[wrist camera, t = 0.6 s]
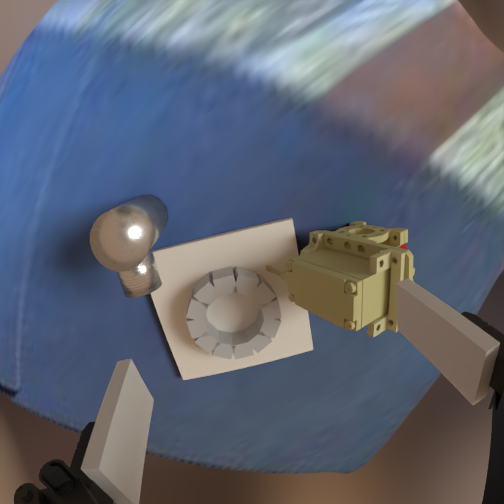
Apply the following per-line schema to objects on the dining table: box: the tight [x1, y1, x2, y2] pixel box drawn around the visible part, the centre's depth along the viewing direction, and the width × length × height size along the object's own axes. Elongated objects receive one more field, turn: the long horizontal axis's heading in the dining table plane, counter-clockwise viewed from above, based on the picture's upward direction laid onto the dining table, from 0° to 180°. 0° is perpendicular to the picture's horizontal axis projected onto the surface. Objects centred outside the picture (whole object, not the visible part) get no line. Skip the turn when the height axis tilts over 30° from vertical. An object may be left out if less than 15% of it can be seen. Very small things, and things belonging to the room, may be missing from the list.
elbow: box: [90, 195, 168, 298], centre depth 30 cm, size 8×5×12 cm, turn 12°
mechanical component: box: [266, 221, 415, 337], centre depth 34 cm, size 8×17×20 cm, turn 96°
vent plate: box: [151, 218, 313, 380], centre depth 37 cm, size 18×18×4 cm
